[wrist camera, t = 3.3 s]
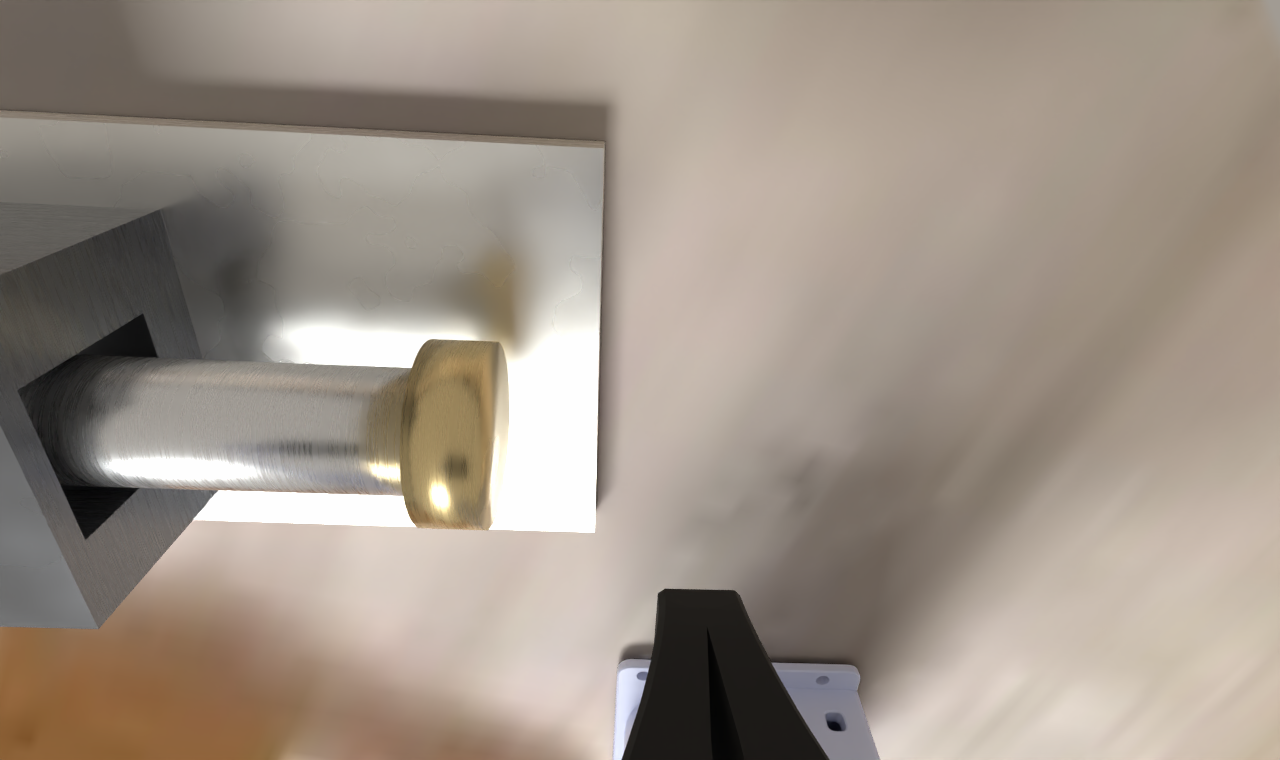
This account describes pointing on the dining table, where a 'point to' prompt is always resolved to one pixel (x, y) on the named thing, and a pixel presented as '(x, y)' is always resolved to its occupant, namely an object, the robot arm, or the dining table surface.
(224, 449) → the shaft
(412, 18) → the dining table surface
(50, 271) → the bearing block
